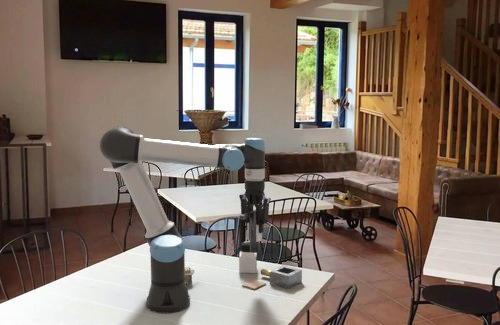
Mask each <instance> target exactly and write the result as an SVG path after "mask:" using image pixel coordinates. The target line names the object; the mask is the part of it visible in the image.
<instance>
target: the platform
mask: <svg viewBox="0 0 500 325" xmlns="http://www.w3.org/2000/svg"><path fill="white" fill-rule="evenodd" d="M194 273H195V270H194V269H191V267H189V266H188V267H187V266H186V267H185V284H187V285H190V283H193V275H194Z"/></svg>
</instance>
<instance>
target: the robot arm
mask: <svg viewBox="0 0 500 325" xmlns="http://www.w3.org/2000/svg"><path fill="white" fill-rule="evenodd" d="M265 145H266V144H265V140H264V138H261V137H258V138H257V137H247V138H245V139H244V142H243V143H232V144H231V143H221V144H220V143H219V144H217V143H216V144H214V145H212V144H211V145H210V144H209V145H208V144H204V143H203V144H201V143H191V142H181V141H173V140H163V139H154V138H146V137H144V136H143V134H136V133H135V132H134V131H133V130H132V129H130V128H129V127H126V126H115V127H112V128H110V129H109V130H107V131H106V132H105V133H103V135H101V138H100V141H99V150H100V152H101V155H102V156H103V157H104V158H105V159H107V160H108V161H109V163H110V164H111V167H112V168H113V170H114V171H117V172H119V173H120V176H121V178H122V180H123V182H124V184H125V186H126V188H127V191H128V193H129V195H130V197H131V200H132V202H133V203H134V207H135V208H136V210H137V213H138V214H139V216H140V219H141V220H142V223H143V225H144V227H145V230H146V233H145V235H144V238H145V239H146V241H147V244H148V246H149V254H150V287H149V291H148V295H147V297H146V309H147V310H149V311H151V312H154V313H157V314H173V313H178V312H181V311H184V310H186V309H188V308H189V307H190V305H191V296H190V294H189V291H188V288H187V285H186V284H187V283H185V268H186V267H185V266H186V265H185V263H186V262H185V252H186V246H185V242H184V238H183V237H182V235H181V234H180V233H179V230H178V228H177V226H176V225H175V222H174V221H171V220H169V219H168V216H167V215H166V212H165V210H164V208H163V205H162V203H161V200H159V197H158V194H157V192H156V190H155V187H154V186H153V184H152V181H151V179H150V177H149V175H148V173H147V170H146V169H145V166H144V163H143V162H151V163H152V162H154V163H164V164H165V163H166V164H175V165H184V166H185V165H186V166H197V167H207V168H218V169H226V170H228V171H231V172H233V171H234V172H236V171H239V170H240V169H241V168H242V167H243V165H244V179H245V180H244V189H245V191H244V193H242V194H239V200H240V215H242V214H245V213H249V212H250V210H254V207H255V210H256V213H257V221H258V224H257V225H256V242H259V243H260V242H261V241H263V233H264V224H267V223H269V214H270V212H269V211H270V203H271V197H267V196H266V195H265V186H266V182H265V178H266V176H265V175H266V169H265V167H266V166H265V164H266V163H265V162H266V161H265V160H266V159H265V158H266V146H265ZM243 221H244V222H245V230H246V231H247V233H246V236H247V240H248V241H250V218H248V219H245V220H243Z"/></svg>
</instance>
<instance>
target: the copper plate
mask: <svg viewBox="0 0 500 325" xmlns="http://www.w3.org/2000/svg"><path fill="white" fill-rule="evenodd" d="M266 285H267V283H266V282H263V281H259V280H255V279H252V280H250V281H247V282H245V283H243V284H242V286H241V287H242V288H246V289H250V290H253V291H256V290H258V289H260V288H262V287H264V286H266Z"/></svg>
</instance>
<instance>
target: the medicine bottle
mask: <svg viewBox="0 0 500 325" xmlns="http://www.w3.org/2000/svg"><path fill="white" fill-rule="evenodd" d="M257 257H258V255H257V253H251V252H250V241H243V242H242V243H240V251H239V256H238V273H239V274H256V273H257V266H258V265H257V260H258V258H257Z"/></svg>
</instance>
